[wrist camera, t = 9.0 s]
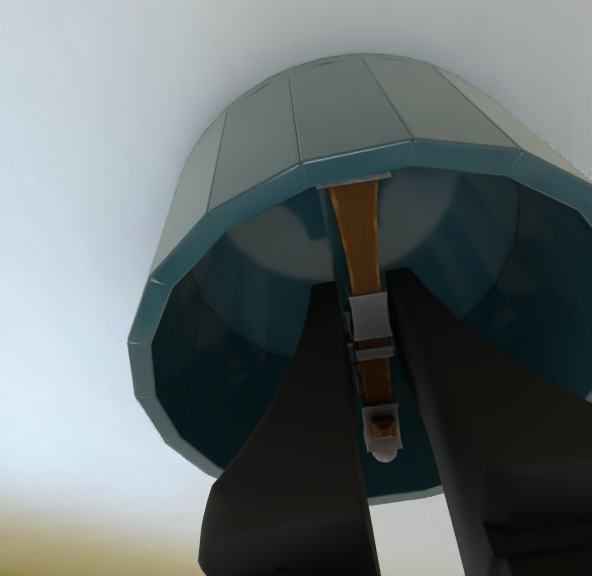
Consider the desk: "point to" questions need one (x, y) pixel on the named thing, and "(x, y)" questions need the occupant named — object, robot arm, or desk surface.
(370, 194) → the wooden post with brackets
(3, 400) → the desk surface
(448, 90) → the teal round bowl
